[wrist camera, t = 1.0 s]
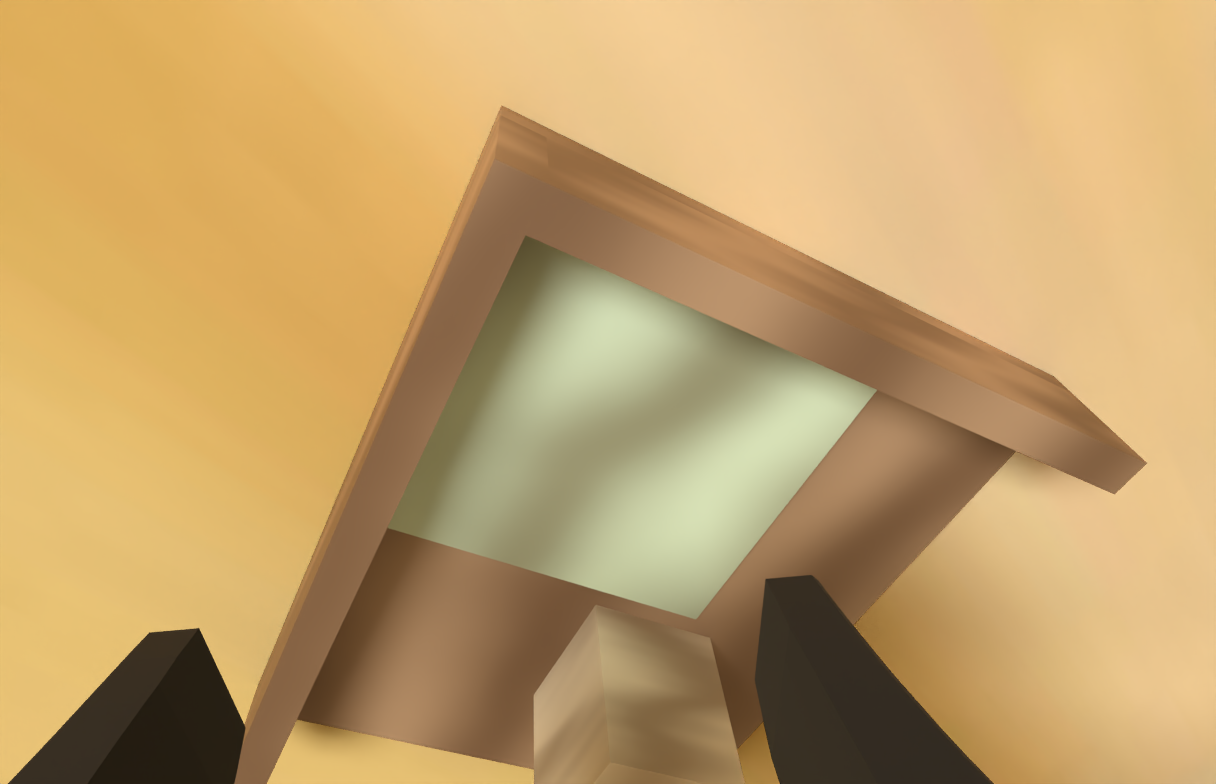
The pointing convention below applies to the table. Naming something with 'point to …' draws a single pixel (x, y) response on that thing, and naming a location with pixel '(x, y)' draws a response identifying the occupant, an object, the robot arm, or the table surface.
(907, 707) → the robot arm
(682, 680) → the block
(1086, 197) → the table surface
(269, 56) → the table surface
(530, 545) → the arena
